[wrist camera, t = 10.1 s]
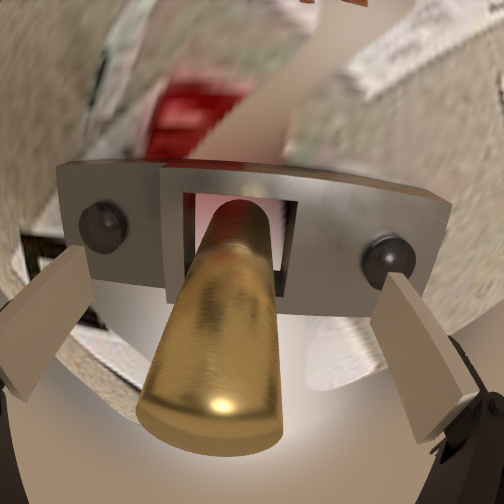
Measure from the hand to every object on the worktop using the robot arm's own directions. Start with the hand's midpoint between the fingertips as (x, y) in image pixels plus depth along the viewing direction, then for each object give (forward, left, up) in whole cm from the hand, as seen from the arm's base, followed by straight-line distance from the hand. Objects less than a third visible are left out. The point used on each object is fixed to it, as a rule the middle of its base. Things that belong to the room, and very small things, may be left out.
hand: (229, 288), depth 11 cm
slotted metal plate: (0, 0, -7) cm, 7 cm away
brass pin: (0, 0, -7) cm, 7 cm away
